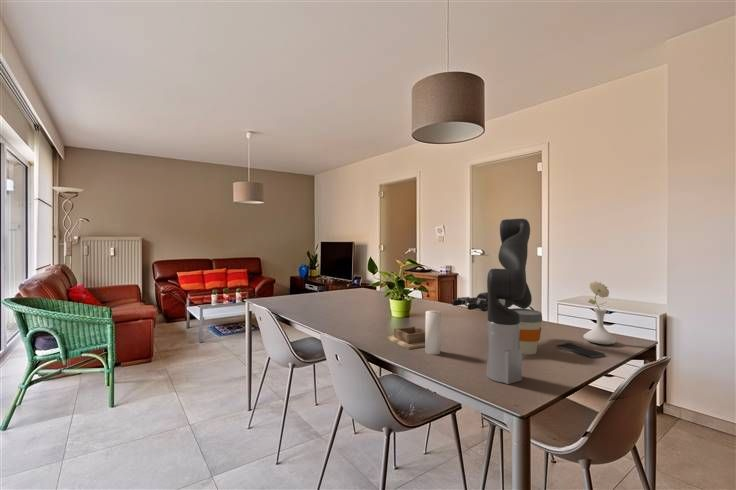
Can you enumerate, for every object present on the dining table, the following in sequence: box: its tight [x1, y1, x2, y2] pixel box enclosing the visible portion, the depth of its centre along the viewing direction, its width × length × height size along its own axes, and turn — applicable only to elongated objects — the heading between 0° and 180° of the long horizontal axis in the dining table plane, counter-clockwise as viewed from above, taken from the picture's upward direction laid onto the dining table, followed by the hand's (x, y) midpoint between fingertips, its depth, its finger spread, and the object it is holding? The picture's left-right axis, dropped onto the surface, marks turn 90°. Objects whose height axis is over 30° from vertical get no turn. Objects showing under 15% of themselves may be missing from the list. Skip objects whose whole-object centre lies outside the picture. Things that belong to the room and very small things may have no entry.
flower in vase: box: [583, 280, 617, 345], centre depth 149 cm, size 13×11×25 cm
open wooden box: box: [386, 325, 425, 350], centre depth 148 cm, size 16×14×4 cm
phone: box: [556, 342, 606, 359], centre depth 137 cm, size 8×1×15 cm
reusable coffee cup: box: [510, 307, 543, 356], centre depth 137 cm, size 13×13×15 cm
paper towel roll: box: [424, 310, 442, 356], centre depth 134 cm, size 6×6×15 cm
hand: (460, 304), depth 140 cm, fingers open, 8 cm apart
